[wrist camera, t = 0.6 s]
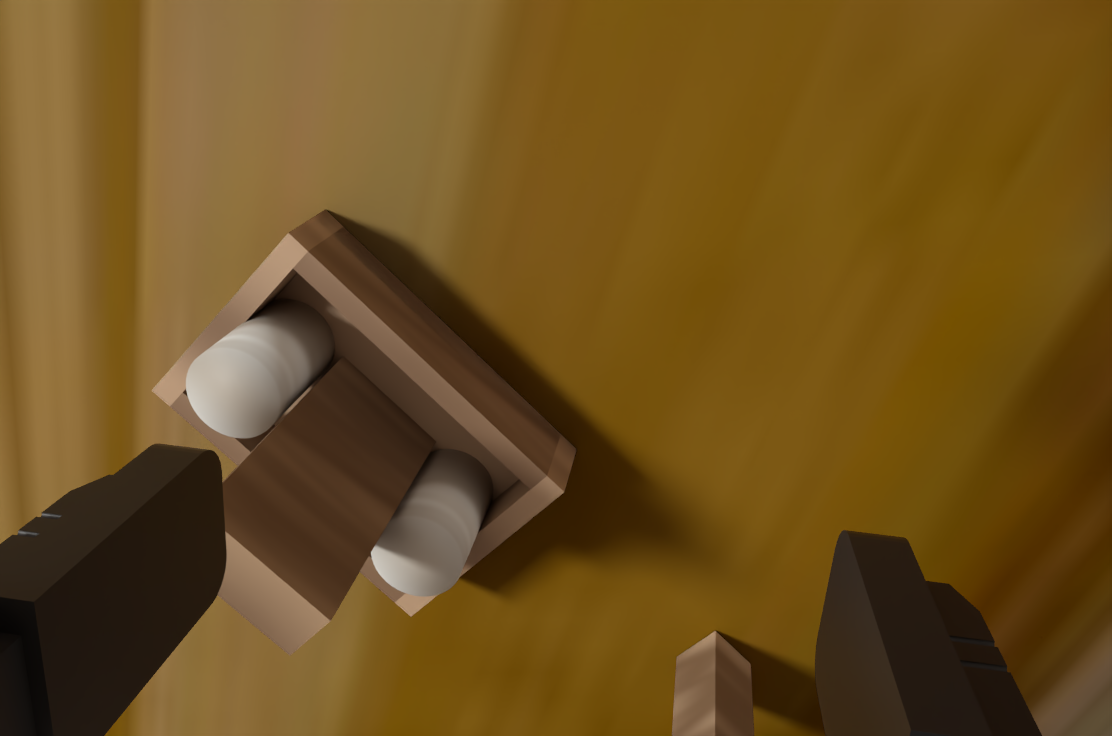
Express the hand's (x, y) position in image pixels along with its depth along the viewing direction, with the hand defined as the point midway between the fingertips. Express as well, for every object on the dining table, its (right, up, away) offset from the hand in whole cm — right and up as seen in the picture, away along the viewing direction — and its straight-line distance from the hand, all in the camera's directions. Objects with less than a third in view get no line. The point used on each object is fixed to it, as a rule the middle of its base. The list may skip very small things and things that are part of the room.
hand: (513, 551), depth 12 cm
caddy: (-6, +1, +22) cm, 23 cm away
